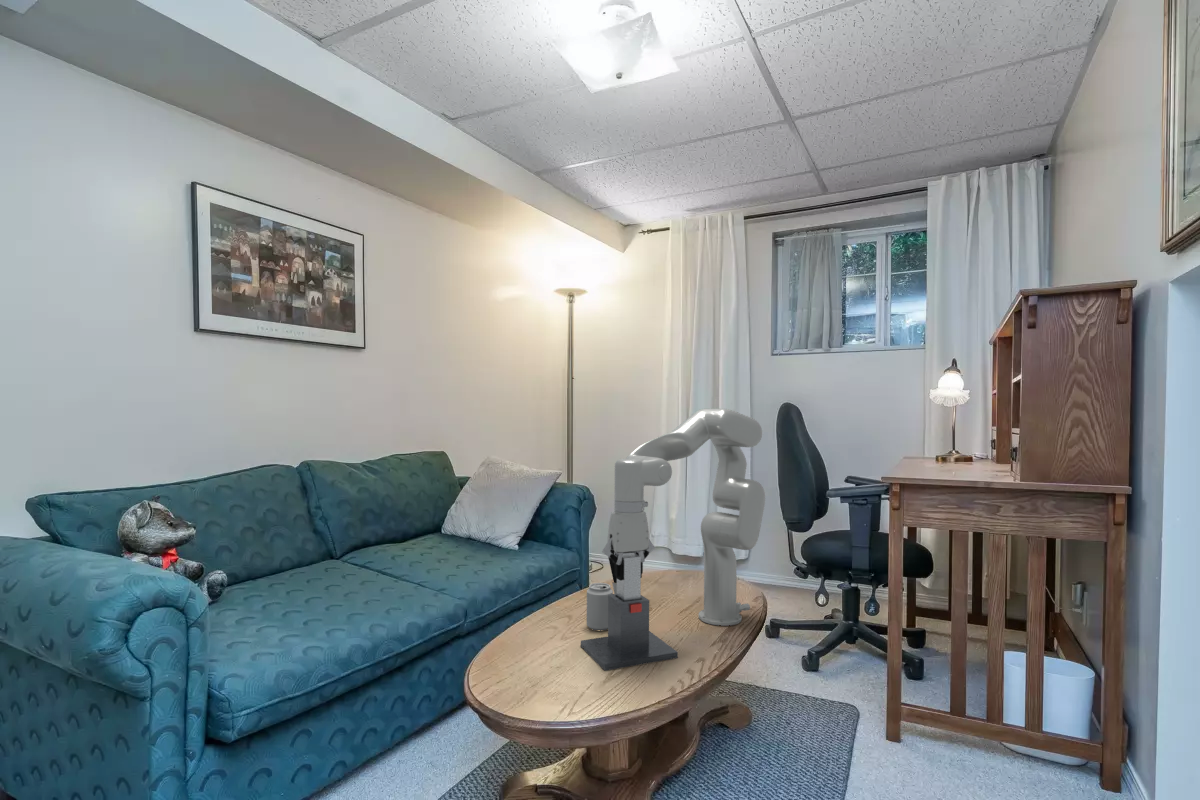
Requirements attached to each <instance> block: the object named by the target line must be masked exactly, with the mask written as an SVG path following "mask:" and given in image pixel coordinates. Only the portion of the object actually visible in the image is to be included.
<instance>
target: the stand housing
mask: <svg viewBox="0 0 1200 800" xmlns="http://www.w3.org/2000/svg"><path fill="white" fill-rule="evenodd" d="M580 647H581V648H582V649H583V648H584V649H583V651H585V653H586V654H588V656H589V657H590V658H591V659H593V661H594V662H595V663H597V665H598V666H599V668H601V669H602V670H603V671H611V670H612V671H613V670H617V669H618V670H619V669H624V668H628V667H634V666H641V665H646V664H651V663H657V662H663V660H664V661H668V660H674V659H673V658H675V659H678V658H679V654H678V653H679V652H678V651H677V650H676V649H675V648H673V647H672V646H670V645H669V644H668V643H666V642H665V641H663V640H662V638H659V637H658V636H657V635H655V634H654V633H653V632H652V631H650V600H649V599H648V598H647V597H646V596H643V595H642V594H641V600H634V601H626V602H623V601H621V600H620V599H619V598H617V594H615V593H613V594H610V595H608V630H607V636H603V637H601V636H600V637H595V638H591V639H590V638H589V639H583V640H582V639H581V640H580Z"/></svg>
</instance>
